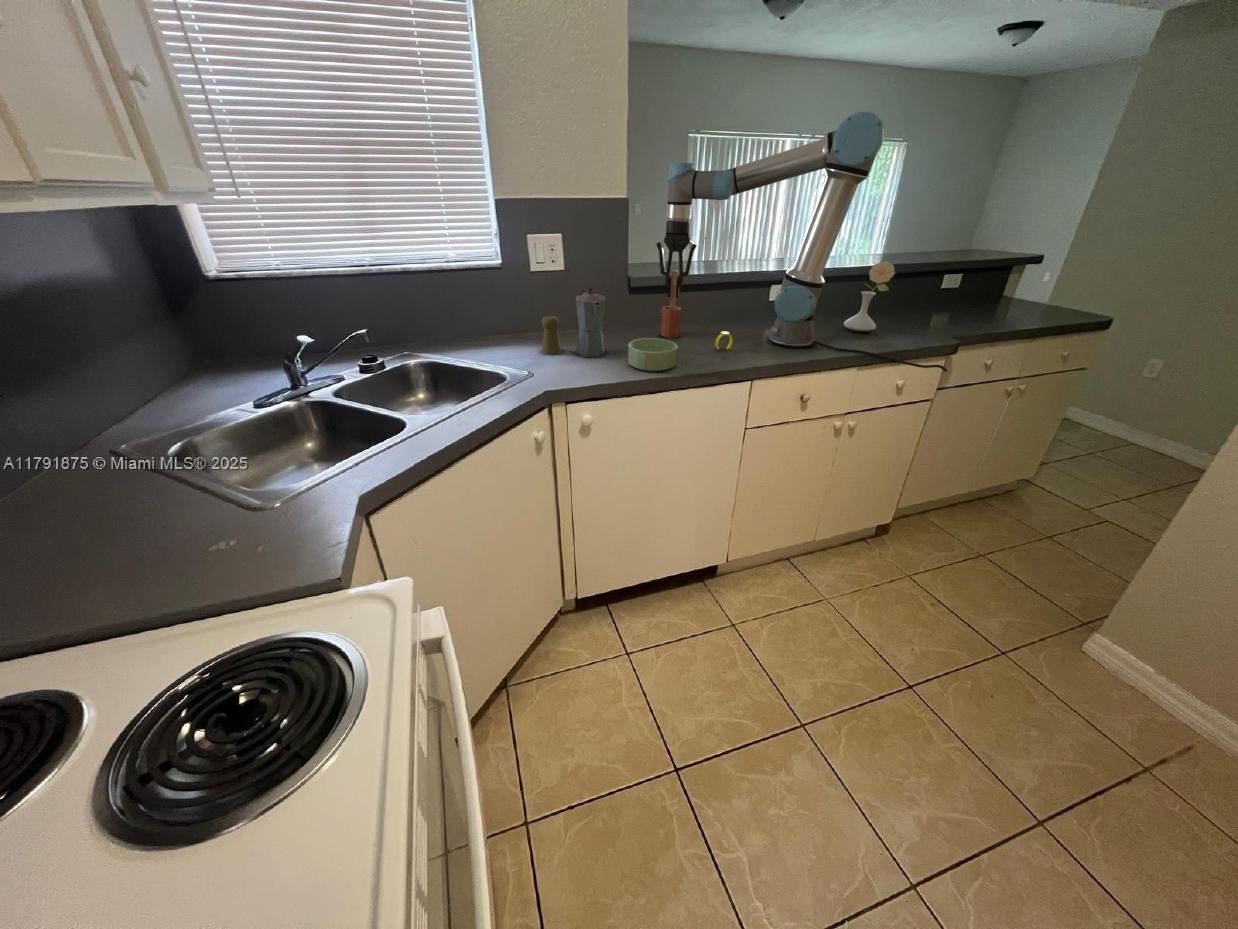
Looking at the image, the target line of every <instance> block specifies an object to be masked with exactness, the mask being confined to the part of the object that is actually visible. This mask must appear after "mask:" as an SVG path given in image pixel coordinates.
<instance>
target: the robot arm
mask: <svg viewBox="0 0 1238 929" xmlns="http://www.w3.org/2000/svg"><path fill="white" fill-rule="evenodd" d="M884 139H885V126H884V123H883V121H882V119H881V118H880V116H878V115H877V114H876V113H873V112H870V111H858V112H855V113H853V114H851V115H849V116H848V117H846V118H845V119H844V120H842V122H841V123H840V124H839V126H838V127H837V128H836V130H833V131H830V132H827V133H825V135H824V137H823V138H821V139H818V140H815V141H812V142H808V143H805V144H801V145H799V146H797V147H793V148H790V149H787V150H784V151H781V152H778V153H774V154H772V155H769V156H766V157H763V158H759V159H756V160H753V161H750V162H748V163H744V164H741V165H737V166H735V167H731V168H728V169H725V170H696V168H695V164H694V163H693V162H673V163H671V164H670V166H669V173H668V180H667V182H668V184H667V185H668V188H667V205H666V207H667V208H666V219H667V221H665V222H666V223H665V235H664V238H663V240H661V241H657V242H656V247H657V250H658V259H659V272H660V274H661V275H663V276H665V284H664V285H665V286H664V287H667V298H670V291H671V273H672V265H673V258H674V252H677V253H678V277H677V285H676V299H679V296H680V288H682V287H683V285H684V277H686V276H689V274H690V271H691V266H692V262H693V256H694V252H695V250H696V249H697V246H698V244H697V243H695V242H693V241H692V240H691V237H690V230H691V229H690V228H691V222H690V219H691V217H692V205H693V204H692V203H693V200H709V201H710V200H711V201H712V200H713V201H726V200H729V199H730V198H731V197H733V196H736V195H738V194H742V193H745V192H748V191H752V190H756V189H758V188H762V187H765V186H769V185H772V184H776V183H779V182H783V181H786V180H790V179H793V178H797V177H800V176H803V175H807V174H810V173H813V172H814V173H815V172H816V171H820V170H823V171H824V173H825V175H826V176H825V177H826V178H825V181H824V184H823V186H822V188H821V191H820V195H819V197H818V199H817V203H816V206H815V208H814V211H813V214H812V216H811V219H810V222H809V224H808V227H807V230H806V232H805V236H804V238H803V242H802V244H801V246H800V249H799V252H798V254H797V257H796V261H795V262H794V265H793V267H791V268H790V269H788V270H786V273H785V275H784V278H783V280H782V283H781V286H780V289H779V291H778V292H777V294H776V296H775V298H774V311H775V313H776V315H777V316H776V317H777V318H776V320H775V322H774V324H773V326H772V327H771V329H770V331H769V334H768V337H767V340H768V342H769V343H771V344H773V345H776V346H778V347H779V346H780V347H782V348H783V347H784V348H792V349H805V348H810V347H812V346H814V344H815V345H818V346H821V347H824V348H826V349H831V350H834V351H840V352H848V353H857V354H864V355H869V356H873V357H878V358H881V359H884V360H888V361H892V362H895V363H900V364H904V365H908V366H912V367H916V368H921V369H922V368H923V369H931V368H938V369H940V370H942V371H943V372H946V373H947V372H948V369H947V368H946V367H945V366H943V365H941V364H919V363H915V362H910V361H905V360H902V359H899V358H894V357H891V356H890V357H889V356H886V355H883V354H878V353H874V352H872V351H871V352H870V351H865V350H860V349H851V348H840V347H835V346H831V345H829V344H825V343H822V342H819V341H815V331H814V317H815V313H816V308H817V304H818V300H819V297H820V295H821V292H822V290H823V287H824V284H825V278H824V276H823V274H824V270H825V268H826V266H827V263H828V261H829V259H830V256H831V254H832V251H833V248H834V246H835V243H836V241H837V238H838V236H839V233H840V231H841V229H842V226H843V224H844V222H845V218H846V217H847V214H848V211H849V209H850V206H851V204H852V201H853V199H854V196H855V194H856V192H857V189H858V187H859V184H861V183H862V182H864V181H865V180H867V179H868V177H869V174H870V173H871V170H872V167H873V165H874V163H875V160H876V158H877V155H878V152H879V151H880V149H881V148H882V146H883V143H884ZM665 245H666V246H665ZM665 247H667V250H668V257H667V264H666V267H665V253H664V252H665V251H664V248H665ZM687 247H688V249H689V253H688V258H687V262H686V265H685V268H684V251H685V249H686V248H687ZM684 269H685V270H684Z"/></svg>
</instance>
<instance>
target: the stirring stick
mask: <svg viewBox="0 0 1238 929" xmlns="http://www.w3.org/2000/svg"><path fill="white" fill-rule="evenodd" d="M670 276H671V291H670V297H669V305H668V306H669V310H675V309H676V306H677V298H676V285H677V277H678V276H679V270H677V269H676V270H675V269H674V270H672V269H671V273H670Z"/></svg>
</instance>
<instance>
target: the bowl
mask: <svg viewBox="0 0 1238 929" xmlns="http://www.w3.org/2000/svg"><path fill="white" fill-rule="evenodd" d="M677 360H678V344H677V343H676V342H674V341H672V340H669V339H665V338H660V337H659V338H658V337H642V338H641V337H640V338H635V339H633V340H631V341H629V342H628V343H627V363H628V365H630V366H631V367H634V368H635V369H637V370H640V371H646V372H661V371H666V370H669V369H672V368H674V367H675V366H676V365H677Z"/></svg>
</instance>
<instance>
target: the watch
mask: <svg viewBox="0 0 1238 929" xmlns="http://www.w3.org/2000/svg"><path fill="white" fill-rule="evenodd" d="M727 336H728V337H729V342H728V344H727V346H726V349H725V350H726V351H729V350H730V349H731V348H732V345H733V343H734V338H733V336H732V334H730V332H729V331H724V330H723V331H720V334H719V335H718V336H717V337H716V339H715V343H714V344H715V348H716V349H717V350H720V346H719V343H720V340H721V339H722V337H727Z"/></svg>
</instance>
